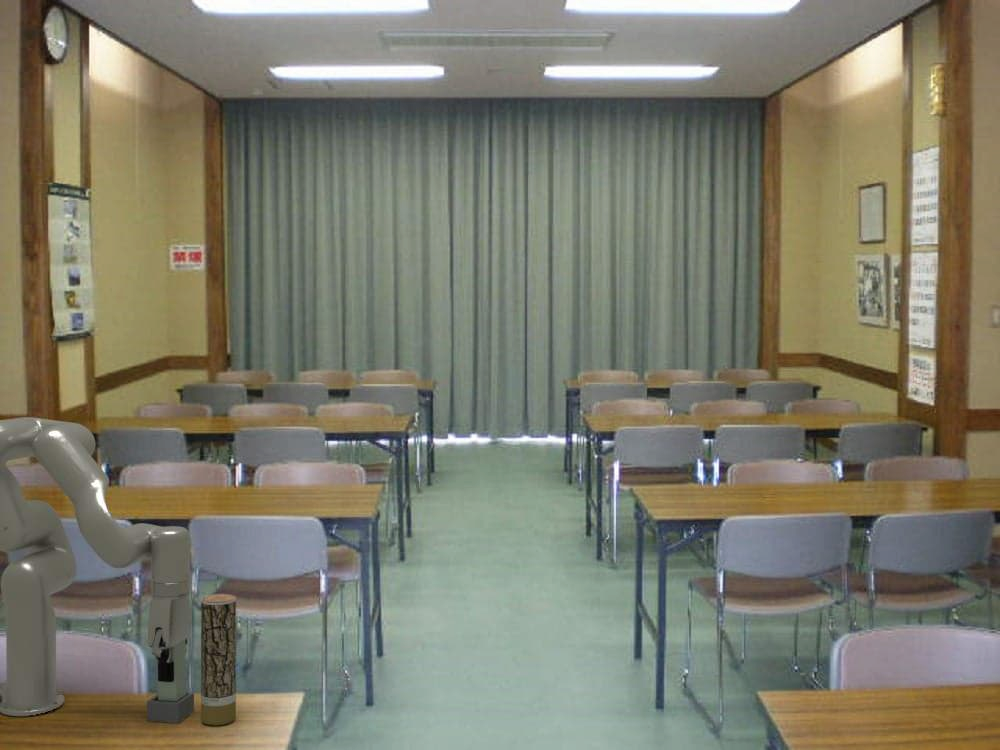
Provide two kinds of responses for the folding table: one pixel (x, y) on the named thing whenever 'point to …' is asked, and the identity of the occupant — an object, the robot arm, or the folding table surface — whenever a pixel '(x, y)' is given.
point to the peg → (175, 676)
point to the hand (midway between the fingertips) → (171, 676)
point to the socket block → (170, 709)
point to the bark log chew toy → (218, 659)
